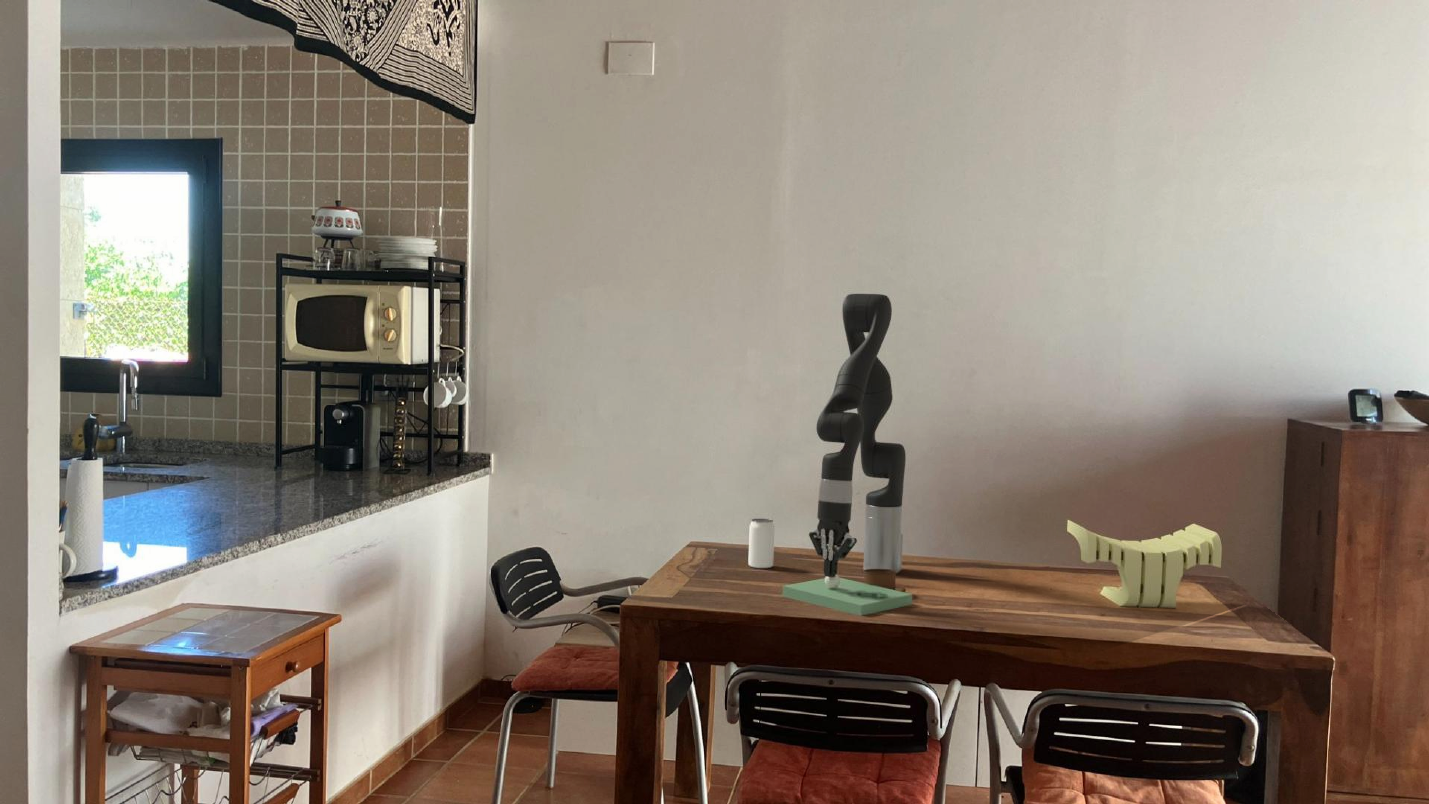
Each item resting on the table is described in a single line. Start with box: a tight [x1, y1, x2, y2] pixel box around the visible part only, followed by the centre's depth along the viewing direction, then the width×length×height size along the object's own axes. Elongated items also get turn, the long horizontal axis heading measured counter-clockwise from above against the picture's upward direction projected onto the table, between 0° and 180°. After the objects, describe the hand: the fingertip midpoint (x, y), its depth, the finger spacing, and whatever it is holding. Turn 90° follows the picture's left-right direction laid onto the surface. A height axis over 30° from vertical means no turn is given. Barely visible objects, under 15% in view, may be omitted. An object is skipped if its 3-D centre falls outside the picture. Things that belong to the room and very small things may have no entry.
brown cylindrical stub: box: [863, 569, 906, 593], centre depth 261 cm, size 12×12×6 cm
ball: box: [824, 574, 841, 589], centre depth 254 cm, size 4×4×4 cm
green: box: [781, 577, 914, 617], centre depth 252 cm, size 23×18×2 cm
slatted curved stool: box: [1066, 519, 1223, 609], centre depth 260 cm, size 30×16×18 cm, turn 89°
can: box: [747, 518, 775, 569], centre depth 289 cm, size 6×6×12 cm
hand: (829, 576), depth 252 cm, fingers closed
